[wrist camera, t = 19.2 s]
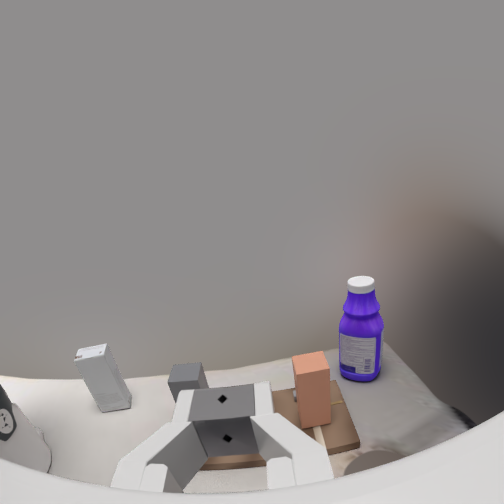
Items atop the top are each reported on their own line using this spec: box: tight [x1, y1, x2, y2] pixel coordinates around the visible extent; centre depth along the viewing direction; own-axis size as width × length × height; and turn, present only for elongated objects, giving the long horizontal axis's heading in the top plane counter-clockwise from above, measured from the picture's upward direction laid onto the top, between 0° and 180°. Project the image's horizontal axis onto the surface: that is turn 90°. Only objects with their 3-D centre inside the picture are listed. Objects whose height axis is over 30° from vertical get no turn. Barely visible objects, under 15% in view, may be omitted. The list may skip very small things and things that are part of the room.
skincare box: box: [74, 344, 131, 412], centre depth 47 cm, size 6×4×12 cm
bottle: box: [339, 276, 384, 381], centre depth 46 cm, size 7×6×17 cm
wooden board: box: [199, 380, 360, 470], centre depth 40 cm, size 26×14×3 cm, turn 92°
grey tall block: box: [168, 362, 209, 403], centre depth 39 cm, size 4×4×10 cm
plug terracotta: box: [292, 351, 331, 429], centre depth 38 cm, size 4×4×10 cm
